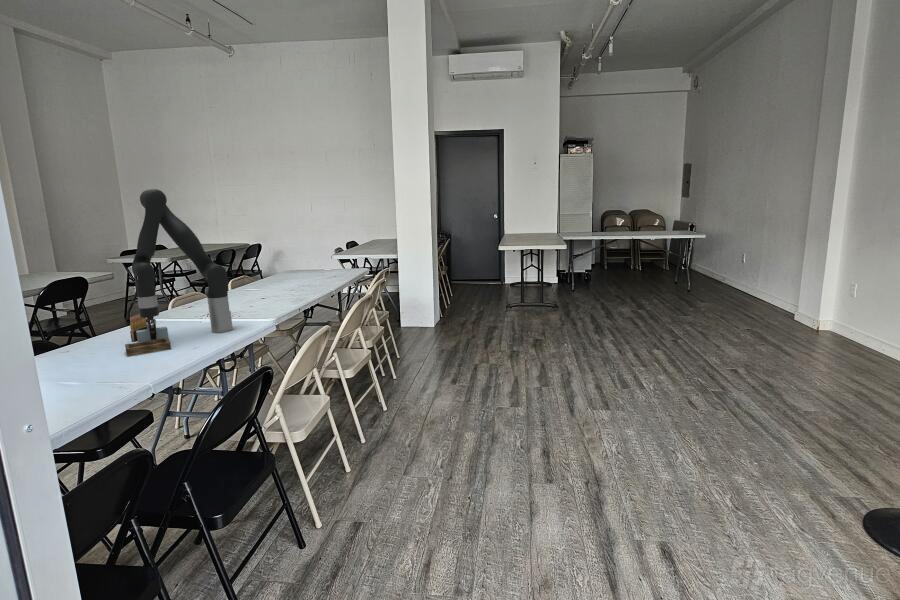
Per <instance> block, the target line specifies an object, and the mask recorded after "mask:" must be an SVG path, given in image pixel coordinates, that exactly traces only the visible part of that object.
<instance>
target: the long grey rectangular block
mask: <svg viewBox="0 0 900 600" xmlns="http://www.w3.org/2000/svg"><path fill="white" fill-rule="evenodd" d="M156 328H157V330H156V333H157V335H156V338H157V339H163V338H168V339H169V340H170V337H169V331H168V327H167V326H160V327H156ZM153 332H154V331H151V333H153ZM136 333H137V339H138V341H137V343H138V342H144V341H150V340H151V337H150V332H149V331H148V329H145V330H138V331H136Z"/></svg>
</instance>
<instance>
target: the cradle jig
mask: <svg viewBox="0 0 900 600" xmlns="http://www.w3.org/2000/svg"><path fill="white" fill-rule="evenodd" d="M171 345H172V344H171V341H170V338H169V339H168V338H163V339H157V340H150V341H144V342H138V341H137V342H130V343H126V344H124V347H125V352H126V356H127V357H133V356H138V355H139V356H140V355H145V354H151V353H156V352H163V351H168V350H172V346H171Z"/></svg>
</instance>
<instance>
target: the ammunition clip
mask: <svg viewBox="0 0 900 600" xmlns="http://www.w3.org/2000/svg"><path fill="white" fill-rule="evenodd" d="M146 319H147V318H142V317H140V313H137V314H135V315H132V316H130V318H129V323H130V324H129V326H130V332H129V333H130V340H131V343H137V342H138V339H137V333H136V331H138V330H145V329H147V325H146V322H145V320H146Z"/></svg>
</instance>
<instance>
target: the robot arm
mask: <svg viewBox="0 0 900 600" xmlns="http://www.w3.org/2000/svg"><path fill="white" fill-rule="evenodd" d="M139 201H140V204H141V206H142V207H143V208H144V212H145V213H144V219H143V223H142V226H141V229H140V230H139V235H138V238H137V244H136V245H137V246H136V251H135V252H136V253H135V254H134V257H133V261H132V265H131V271H132V274H133V275H134V276H135V277H137V285H136V295H137V304H138V310H139V312H138V313H139V315H140V317H142V318H146V320H145V322H146V325H147V329H148V331H149V332H150V337H151V340H157V338H156V335H157V333H156V330H157V328H158V327H157V320H156V319H155V318H154V317H157V316H159V315H160V309H159V304H158V303H159V302H158V298H157V295H156V286H155V280H156V279H155V277H156V276H155V269H154V266H153V265H152V263H151V261H152V258H153V257H154V256H155V253H156V247H157V238H158V233H159V228H160V226H161V227H162V229H163V230H164V232H165V233H166V234H167V235H168V236H169V238H170V239H171V241H173V243H175V244H176V246H177V247H178V248H179V250H180V251H182V253H183V254H184V255H186V257H187V258H188V259H189V260H190V261H192V263H193V265H194V266H195V267H196V268H197V271H199V273H200V274H201V276H202V277H203V279H205V281H207V286H208V290H207V292H206V296H207V306H208V314H209V321H210V329H211V333H215V334H217V333H225V332H226V333H227V332H229V331H233V330H234V329H233V320H232V318H233V317H232V311H231V310H230V303H229V296H228V292H229V280H228V279H229V278H228V273H227V270H226V268H225V267H224V266H222V265H220V264H218V263H215V262H214V260H213V259H212V258H211V257H210V256H208V254H207V252H206V251H205V250H204V247H203V244H202V243H201V241H200V239H199V238H198V237H197V234H195V232H194V231H193V230H192V229H191V228H190V227H189V226H188V224H186V223H185V222H183V220H181V219H180V218H179V217H178V216H176V214H174V213H173V212H172V211H171V209H170V208H169V206H168V205H167V202H168V199H167V195H166V194H165V193H164V192H163V191H162V190H160V189H156V188H152V189H147V190H146V189H145V190H144V191H142V192H141V194H140V196H139ZM151 331H154V332H153V333H151Z"/></svg>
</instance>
